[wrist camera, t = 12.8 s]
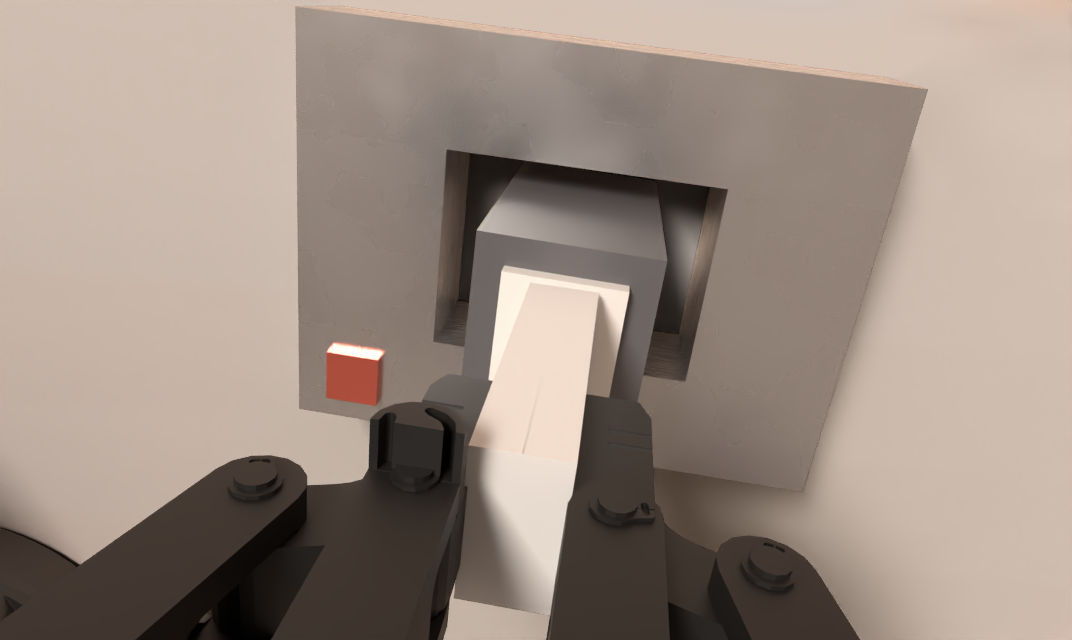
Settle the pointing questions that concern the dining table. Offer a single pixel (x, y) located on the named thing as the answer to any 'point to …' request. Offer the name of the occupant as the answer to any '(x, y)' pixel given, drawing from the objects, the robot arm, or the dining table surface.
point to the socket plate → (603, 145)
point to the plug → (571, 267)
